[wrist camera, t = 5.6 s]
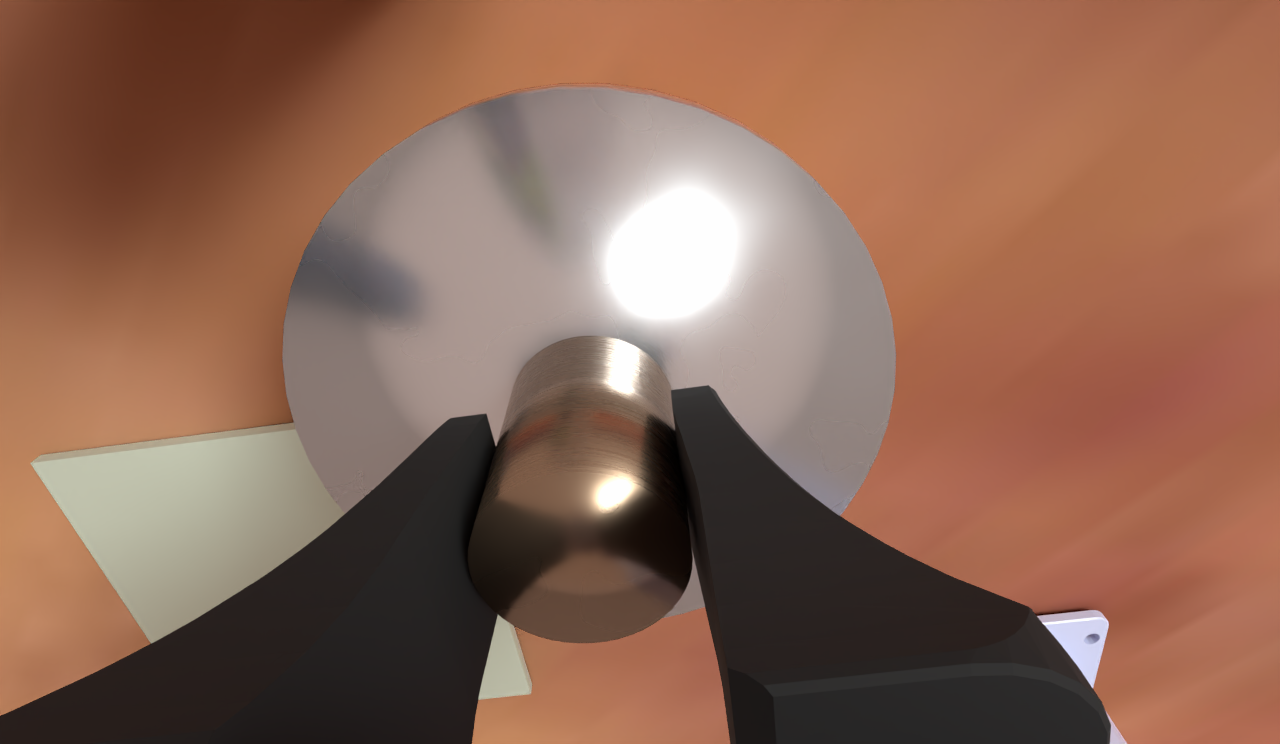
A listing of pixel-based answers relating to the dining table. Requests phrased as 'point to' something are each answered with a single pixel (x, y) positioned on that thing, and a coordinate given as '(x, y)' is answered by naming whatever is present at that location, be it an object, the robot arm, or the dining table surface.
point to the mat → (210, 525)
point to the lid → (586, 334)
